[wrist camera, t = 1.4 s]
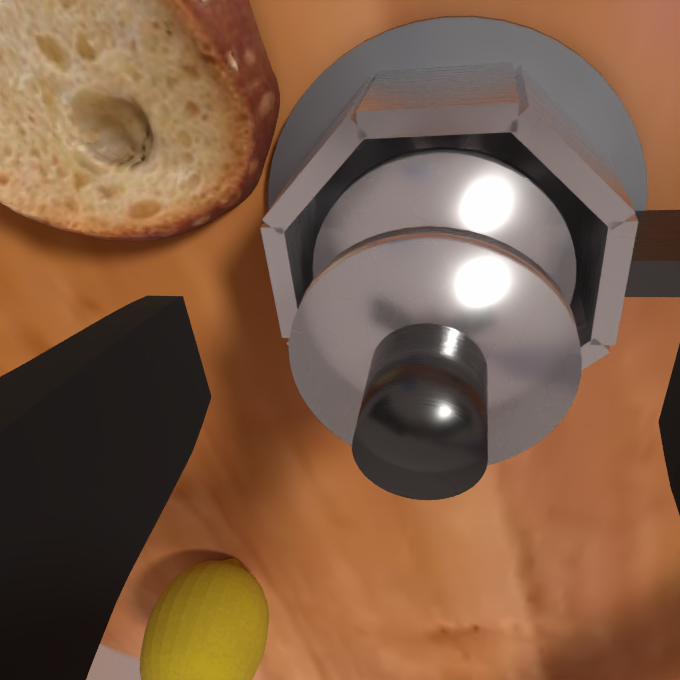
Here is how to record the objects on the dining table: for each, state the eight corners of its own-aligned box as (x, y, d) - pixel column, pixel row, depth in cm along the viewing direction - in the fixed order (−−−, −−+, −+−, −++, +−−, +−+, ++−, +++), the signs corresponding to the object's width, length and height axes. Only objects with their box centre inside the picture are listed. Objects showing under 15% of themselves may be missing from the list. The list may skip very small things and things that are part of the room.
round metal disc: (612, 365, 21) (615, 372, 20) (298, 356, 23) (296, 362, 23) (682, -5, 14) (687, -3, 14) (240, 34, 17) (235, 37, 16)
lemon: (289, 541, 30) (238, 715, 24) (282, 600, 34) (235, 767, 27) (182, 514, 31) (102, 679, 24) (185, 576, 34) (116, 735, 28)
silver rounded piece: (560, 374, 17) (592, 583, 12) (331, 367, 19) (273, 551, 14) (590, 140, 14) (655, 298, 8) (300, 152, 15) (202, 295, 10)
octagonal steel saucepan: (657, 347, 20) (687, 428, 17) (321, 339, 22) (295, 409, 19) (727, 46, 15) (788, 86, 12) (281, 77, 17) (238, 118, 14)
